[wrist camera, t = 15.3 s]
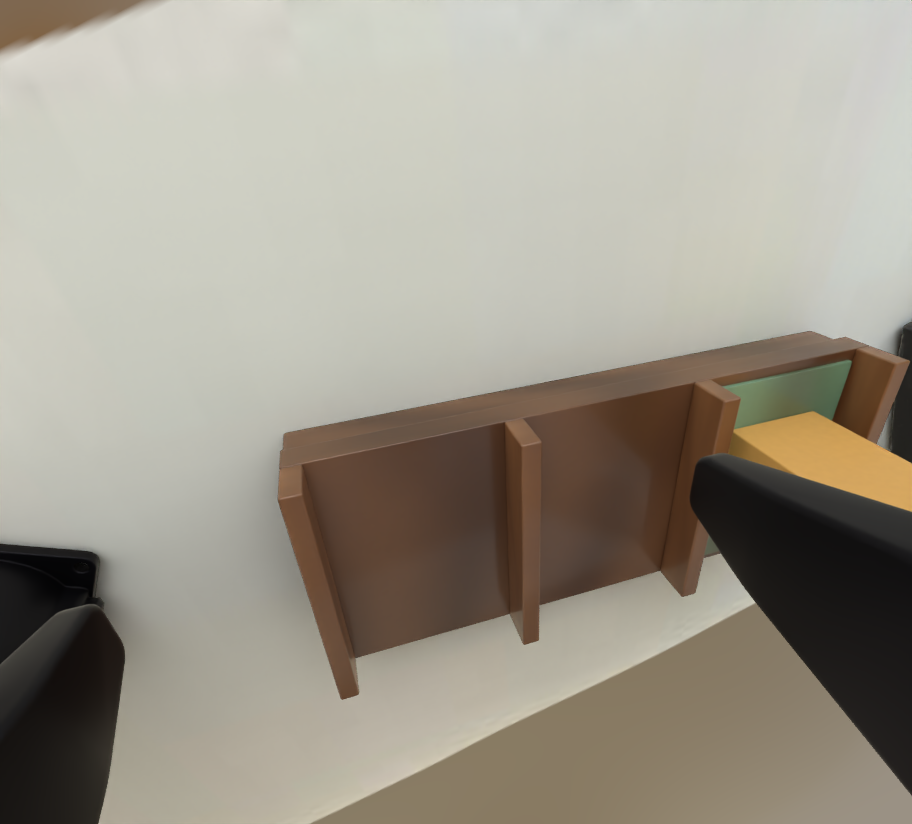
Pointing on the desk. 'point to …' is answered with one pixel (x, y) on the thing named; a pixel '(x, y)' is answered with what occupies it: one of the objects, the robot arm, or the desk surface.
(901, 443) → the disk drive
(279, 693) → the desk surface
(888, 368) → the rack
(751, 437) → the package
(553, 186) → the desk surface
